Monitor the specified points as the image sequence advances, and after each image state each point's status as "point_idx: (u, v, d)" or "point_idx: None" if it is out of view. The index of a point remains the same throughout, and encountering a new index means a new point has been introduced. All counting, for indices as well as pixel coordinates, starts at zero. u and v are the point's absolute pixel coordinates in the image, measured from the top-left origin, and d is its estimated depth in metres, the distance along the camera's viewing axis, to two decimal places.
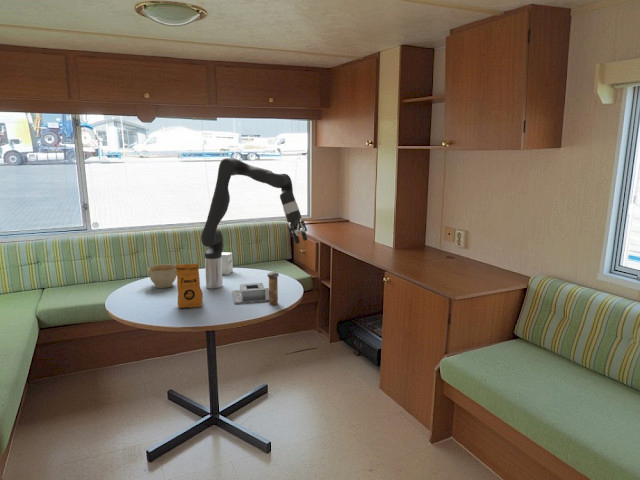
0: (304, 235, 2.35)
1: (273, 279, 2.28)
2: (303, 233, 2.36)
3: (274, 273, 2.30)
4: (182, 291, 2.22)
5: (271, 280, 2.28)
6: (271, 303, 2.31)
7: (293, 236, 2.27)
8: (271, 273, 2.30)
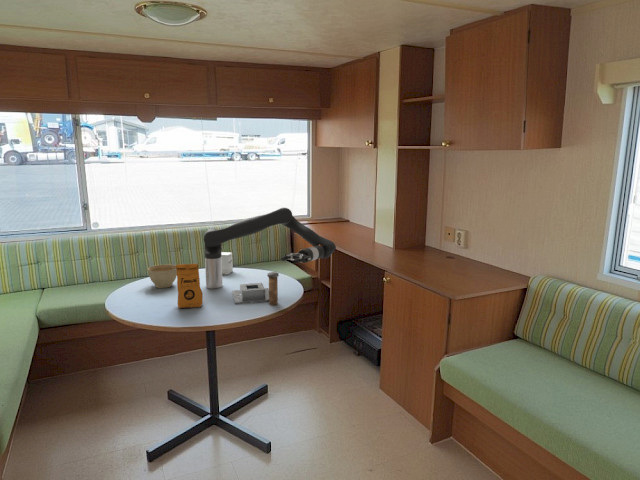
0: (286, 258, 2.42)
1: (273, 279, 2.28)
2: (287, 258, 2.43)
3: (274, 273, 2.30)
4: (182, 291, 2.22)
5: (271, 280, 2.28)
6: (271, 303, 2.31)
7: (301, 259, 2.37)
8: (271, 273, 2.30)
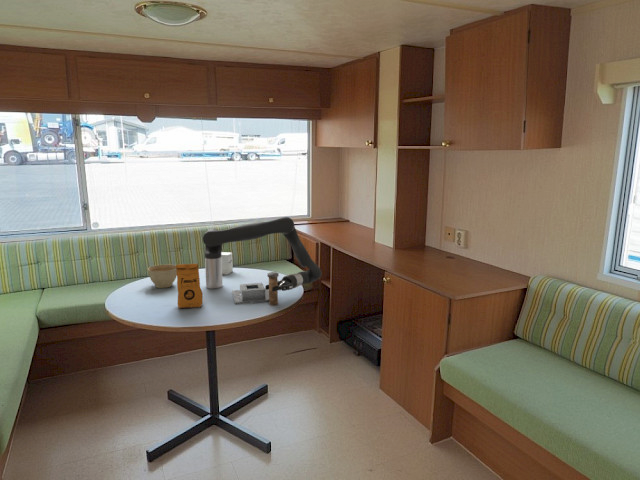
0: None
1: (273, 279, 2.28)
2: None
3: (274, 273, 2.30)
4: (182, 291, 2.22)
5: (271, 280, 2.28)
6: (271, 303, 2.31)
7: (280, 287, 2.30)
8: (271, 273, 2.30)
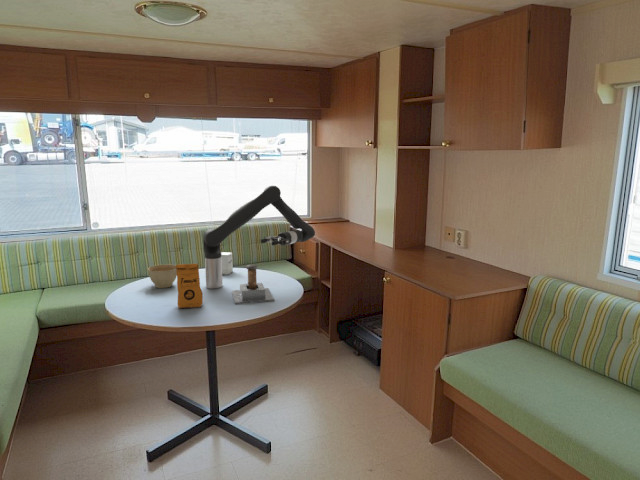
0: (265, 241, 2.51)
1: (251, 271, 2.39)
2: (266, 240, 2.52)
3: (253, 265, 2.41)
4: (182, 291, 2.22)
5: (250, 272, 2.39)
6: None
7: (279, 241, 2.46)
8: (250, 265, 2.41)
